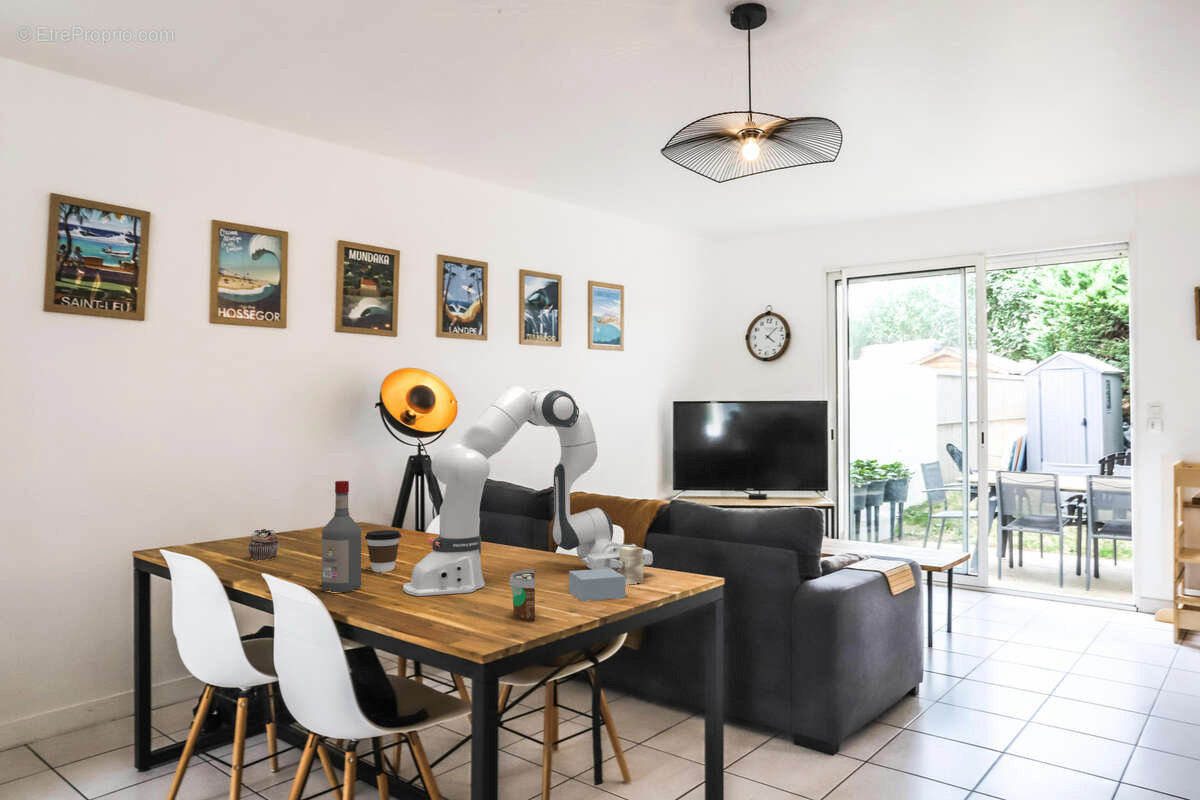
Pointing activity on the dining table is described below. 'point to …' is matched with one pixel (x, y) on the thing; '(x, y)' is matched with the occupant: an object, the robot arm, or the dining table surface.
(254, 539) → the cupcake
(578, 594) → the slate block
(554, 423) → the robot arm
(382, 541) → the coffee cup
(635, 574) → the birch block
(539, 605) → the dining table surface
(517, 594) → the food container
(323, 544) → the liquor
